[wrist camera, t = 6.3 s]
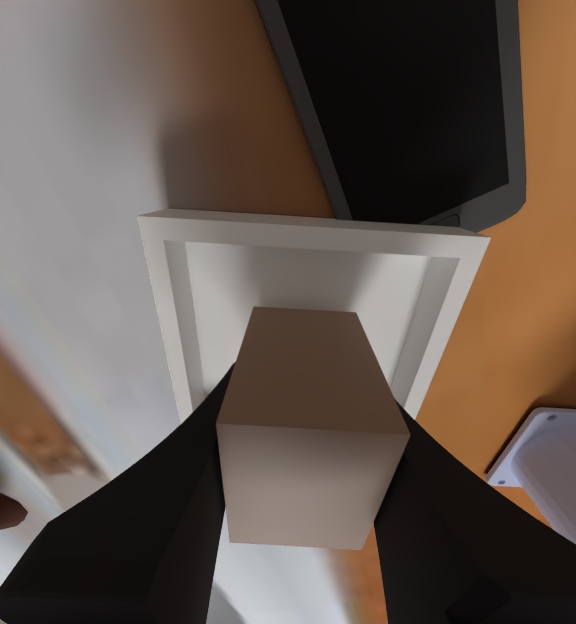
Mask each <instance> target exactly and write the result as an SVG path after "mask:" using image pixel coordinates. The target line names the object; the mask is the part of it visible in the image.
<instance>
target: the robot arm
mask: <svg viewBox="0 0 576 624" xmlns="http://www.w3.org/2000/svg"><path fill="white" fill-rule="evenodd" d="M235 363H236V362H235ZM235 363H233V364H232V366H231V367H230V368H229V370H228V371H227V373H226V374H225V375H224V377H223V378H222V379H221V380H220V382H219V383H218V384H217V385H216V387H215V388H214V389H213V390H212V391H211V393H210V394H209V395H208V396H207V397H206V398H205V400H204V401H203V402H202V403H201V404H200V405H199V406H198V407H197V408H196V409H195V410H194V411H193V412H192V413H191V415H190V416H189V417H188V418H187V419H186V420H185V421H184V422H183V423H182V424H181V425H179V426H178V427H177V428H176V429H175V430H174V431H173V432H172V433H171V434H170V435H169V436H168V437H166V438H165V439H164V440H163V441H162V442H161V443H159V444H158V445H157V446H156V447H155V448H153V449H152V450H151V451H150V452H149V453H148V454H146V455H145V456H144V457H143V458H141V459H140V460H139V461H137V462H136V463H135V464H133V465H132V466H131V467H129V468H128V469H127V470H125V471H124V472H123V473H121V474H120V475H119V476H117V477H116V478H114V479H113V480H112V481H110V482H109V483H108V484H106V485H105V486H104V487H102V488H101V489H99V490H98V491H96V492H95V493H93V494H92V495H90V496H89V497H87V498H86V499H84V500H82V501H81V502H79V503H78V504H76V505H75V506H73V507H72V508H70V509H69V510H67V511H66V512H64V513H63V514H61V515H59V516H58V517H56V518H55V519H53V520H51V521H50V522H48V523H47V525H46V526H45V527H44V528H43V530H42V531H41V532H40V533H39V535H38V536H37V537H36V538H35V539H34V541H33V542H32V543H31V545H30V546H29V547H28V549H27V550H26V552H25V553H24V554H23V556H22V557H21V559H20V560H19V561H18V563H17V564H16V566H15V567H14V568H13V570H12V571H11V573H10V574H9V575H8V577H7V578H6V580H5V581H4V582H3V584H2V585H1V587H0V619H1V620H2V621H4V622H5V623H7V624H206V619H207V613H208V607H209V600H210V594H211V588H212V582H213V576H214V570H215V564H216V558H217V552H218V546H219V540H220V534H221V529H222V523H223V517H224V512H225V506H226V505H225V497H224V488H223V480H222V471H221V463H220V454H219V446H218V437H217V429H216V422H217V418H218V415H219V412H220V409H221V406H222V403H223V400H224V397H225V394H226V391H227V387H228V384H229V381H230V378H231V375H232V372H233V369H234V366H235ZM394 399H395V398H394ZM395 401H396V399H395ZM396 403H397V405H398V408H399V410H400V412H401V414H402V417H403V419H404V421H405V423H406V426H407V428H408V430H409V432H410V437H409V440H408V442H407V445H406V447H405V449H404V452H403V454H402V456H401V459H400V461H399V463H398V466H397V468H396V470H395V473H394V475H393V477H392V480H391V482H390V484H389V487H388V489H387V491H386V494H385V496H384V499H383V501H382V503H381V506H380V508H379V510H378V513H377V515H376V517H375V520H374V528H375V534H376V540H377V547H378V553H379V559H380V566H381V573H382V580H383V587H384V594H385V601H386V609H387V618H388V624H576V409H563V408H546V407H539V408H536V409H534V410H533V411H532V412H531V413H530V415H529V416H528V418H527V419H526V420H525V422H524V423H523V425H522V426H521V427H520V429H519V430H518V432H517V433H516V434H515V436H514V437H513V439H512V440H511V441H510V443H509V444H508V446H507V447H506V448H505V450H504V451H503V453H502V454H501V455H500V457H499V458H498V460H497V461H496V462H495V464H494V465H493V467H492V468H491V469H490V471H489V472H488V474H487V475H486V477H485V480H486V481H487V483H488V484H487V483H486V482H485V481H483V480H482V479H481V478H480V477H478V476H477V475H476V474H474V473H473V472H472V471H471V470H469V469H468V468H467V467H466V466H464V465H463V464H462V463H461V462H460V461H458V460H457V459H456V458H455V457H454V456H452V455H451V454H450V453H449V452H448V451H447V450H446V449H445V448H443V447H442V446H441V445H440V444H439V443H438V442H437V441H436V440H435V439H433V438H432V437H431V436H430V435H429V434H428V433H427V432H426V431H425V430H424V429H423V428H422V427H421V426H420V425H419V424H418V423H417V422H416V421H415V420H414V419H413V418H412V417H411V416H410V415H409V414H408V413H407V412H406V410H405V409H404V408H403V407H402V406H401V405H400V404H399V403H398V402H397V401H396ZM490 485H493V486H510V487H523V489H524V490H525V491H526V493H527V494H528V495H529V497H530V498H531V500H532V501H533V502H534V504H535V505H536V506H537V508H538V509H539V510H540V512H541V513H542V515H543V516H544V517H545V519H546V520H547V521H548V523H549V524H550V525H551V527H552V528H553V529H551V528H550V527H548V526H547V525H545V524H544V523H542V522H541V521H539V520H537V519H536V518H535V517H533V516H532V515H530V514H529V513H527V512H526V511H524V510H523V509H522V508H520V507H519V506H517V505H516V504H515V503H513V502H512V501H510V500H509V499H507V498H506V497H505V496H503V495H502V494H501V493H499V492H498V491H497V490H495V489H494V488H493V487H491V486H490Z"/></svg>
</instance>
